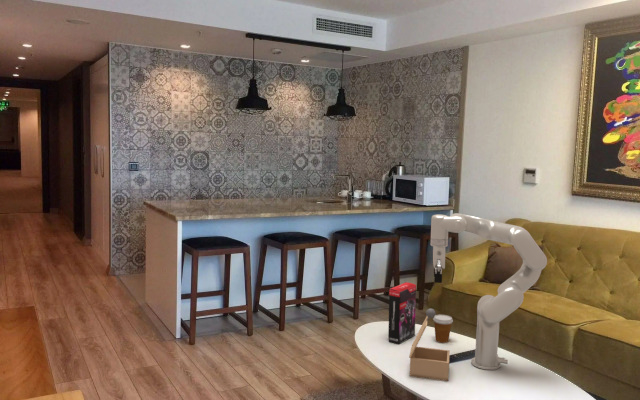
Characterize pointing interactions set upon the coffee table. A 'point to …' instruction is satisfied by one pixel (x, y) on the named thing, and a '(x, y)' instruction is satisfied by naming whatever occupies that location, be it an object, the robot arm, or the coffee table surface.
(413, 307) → the graphics card box
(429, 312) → the carton lid
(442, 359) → the carton
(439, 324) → the disposable coffee cup
